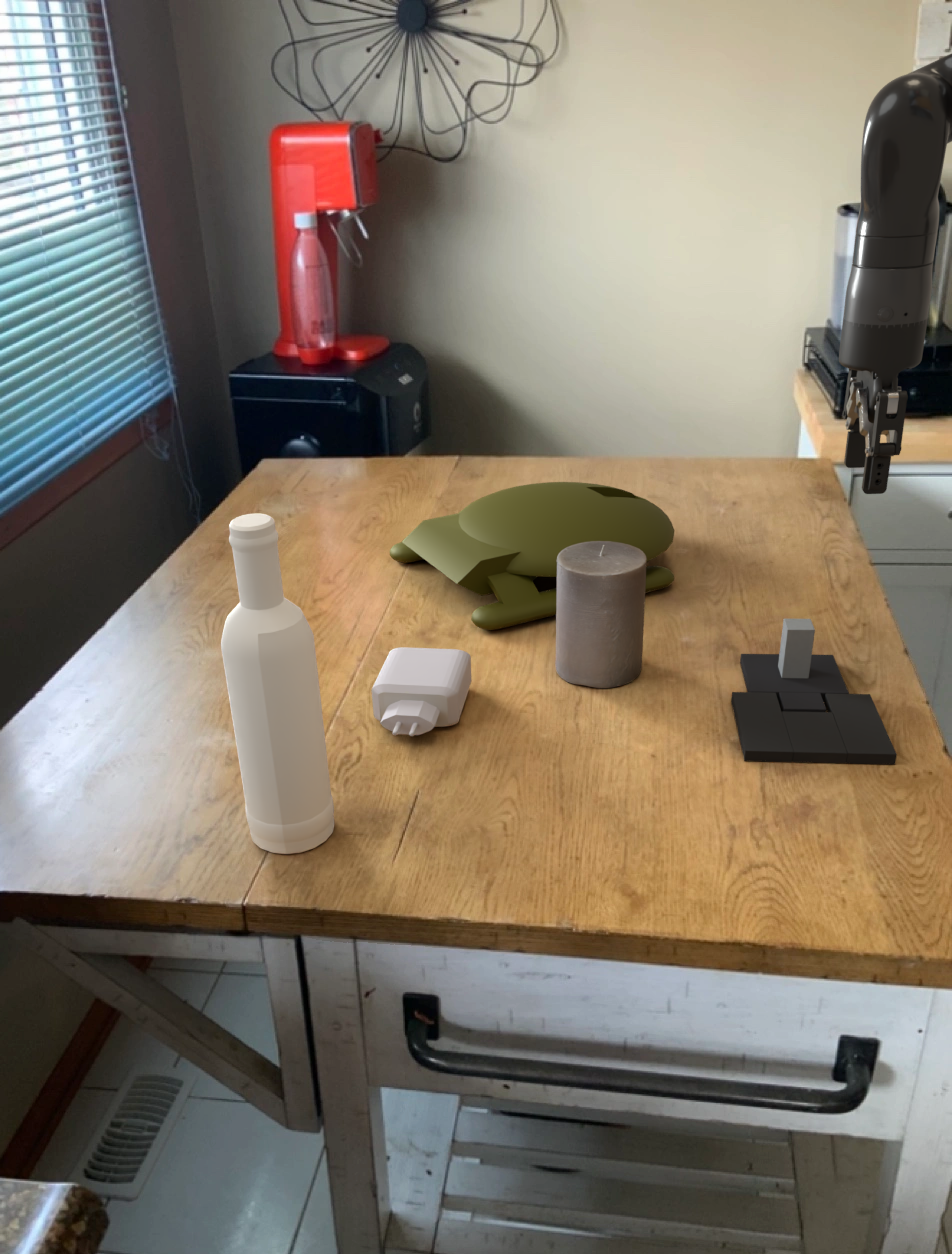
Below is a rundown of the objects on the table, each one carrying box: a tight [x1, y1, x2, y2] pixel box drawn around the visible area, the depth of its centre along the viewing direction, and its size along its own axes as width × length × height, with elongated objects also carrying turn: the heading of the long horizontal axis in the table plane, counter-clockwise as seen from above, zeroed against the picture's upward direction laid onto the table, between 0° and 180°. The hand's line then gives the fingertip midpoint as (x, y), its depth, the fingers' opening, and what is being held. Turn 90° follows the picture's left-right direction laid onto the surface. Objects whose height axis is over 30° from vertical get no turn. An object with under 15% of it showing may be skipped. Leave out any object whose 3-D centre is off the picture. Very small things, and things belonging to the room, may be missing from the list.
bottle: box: [220, 512, 335, 855], centre depth 97 cm, size 8×8×30 cm
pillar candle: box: [554, 541, 648, 689], centre depth 125 cm, size 10×10×15 cm
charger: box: [370, 646, 473, 737], centre depth 120 cm, size 5×9×15 cm
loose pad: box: [739, 618, 850, 712], centre depth 120 cm, size 10×13×7 cm
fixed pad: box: [730, 691, 898, 766], centre depth 114 cm, size 14×12×1 cm
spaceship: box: [389, 481, 675, 631], centre depth 152 cm, size 35×31×10 cm
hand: (864, 479), depth 115 cm, fingers open, 8 cm apart
